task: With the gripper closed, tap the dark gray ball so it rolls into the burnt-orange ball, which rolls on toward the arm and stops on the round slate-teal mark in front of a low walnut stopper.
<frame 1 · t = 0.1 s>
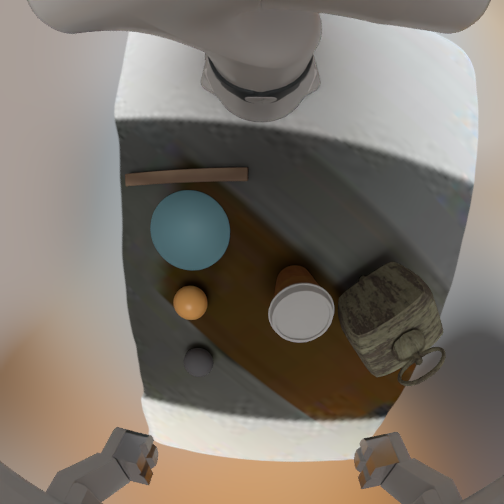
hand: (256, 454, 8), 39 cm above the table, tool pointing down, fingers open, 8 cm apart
dark gray ball: (198, 362, 52), on the table
orange ball: (190, 302, 47), on the table
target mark: (189, 231, 46), on the table
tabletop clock: (366, 285, 48), on the table
stopper wall: (186, 175, 43), on the table
disposable coffee cup: (293, 281, 49), on the table
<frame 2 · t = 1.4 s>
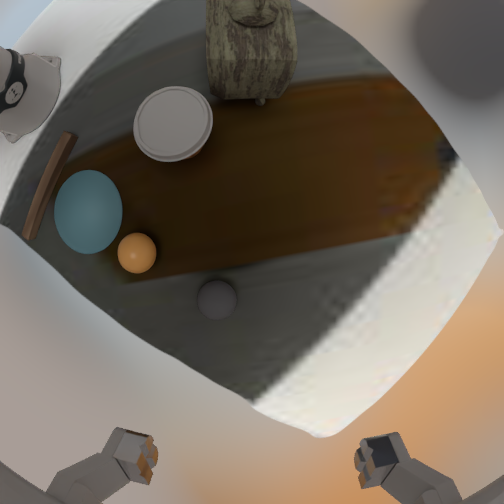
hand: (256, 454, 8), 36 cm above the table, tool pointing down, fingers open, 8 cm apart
dark gray ball: (216, 300, 41), on the table
orange ball: (136, 252, 39), on the table
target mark: (85, 212, 39), on the table
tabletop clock: (239, 75, 37), on the table
stopper wall: (49, 186, 37), on the table
disposable coffee cup: (184, 140, 39), on the table
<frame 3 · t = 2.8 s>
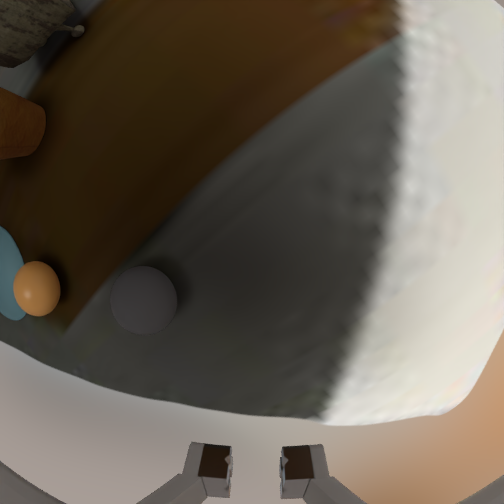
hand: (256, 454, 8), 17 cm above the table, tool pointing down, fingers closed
dark gray ball: (143, 300, 22), on the table
orange ball: (36, 288, 23), on the table
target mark: (1, 274, 26), on the table
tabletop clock: (56, 32, 19), on the table
disposable coffee cup: (31, 130, 22), on the table
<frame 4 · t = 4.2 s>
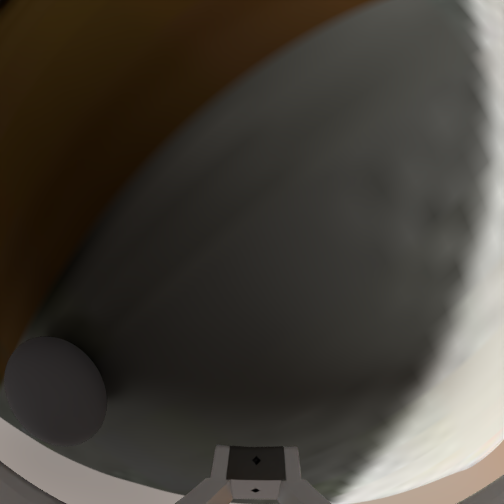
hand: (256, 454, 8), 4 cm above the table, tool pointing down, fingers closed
dark gray ball: (54, 392, 10), on the table
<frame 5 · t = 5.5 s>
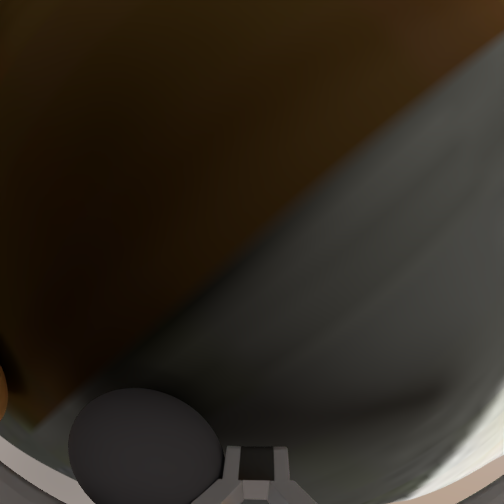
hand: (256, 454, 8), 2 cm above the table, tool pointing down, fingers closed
dark gray ball: (145, 460, 7), on the table, touching gripper
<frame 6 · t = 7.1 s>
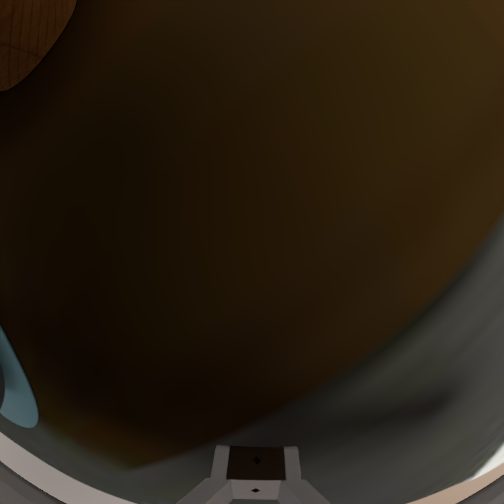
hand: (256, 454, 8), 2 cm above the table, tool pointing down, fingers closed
disposable coffee cup: (31, 35, 6), on the table
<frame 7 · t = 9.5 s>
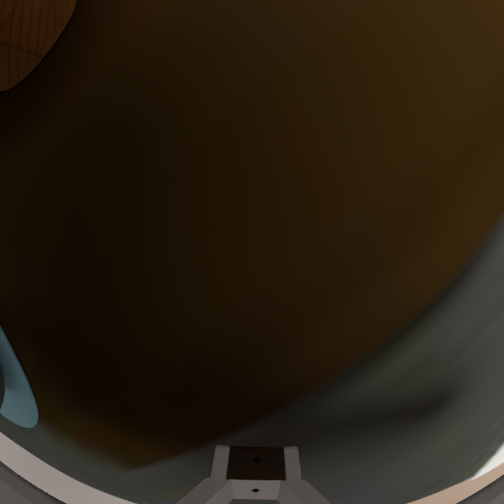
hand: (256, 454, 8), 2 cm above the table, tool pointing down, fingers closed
disposable coffee cup: (31, 35, 6), on the table
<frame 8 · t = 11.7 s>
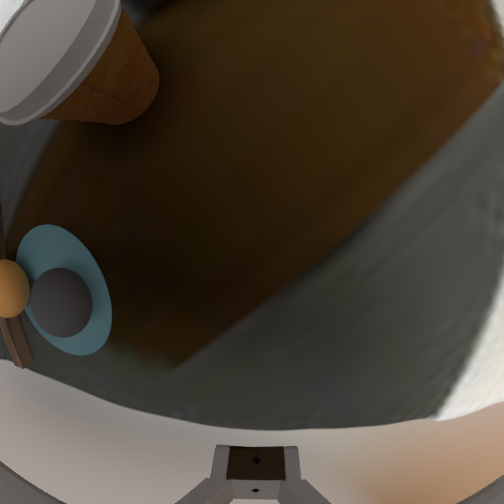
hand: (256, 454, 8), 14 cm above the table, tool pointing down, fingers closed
dark gray ball: (60, 302, 19), on the table
orange ball: (5, 288, 19), on the table
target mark: (56, 294, 22), on the table
stopper wall: (7, 286, 22), on the table
disposable coffee cup: (125, 90, 18), on the table
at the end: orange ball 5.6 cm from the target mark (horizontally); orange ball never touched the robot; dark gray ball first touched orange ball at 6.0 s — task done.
